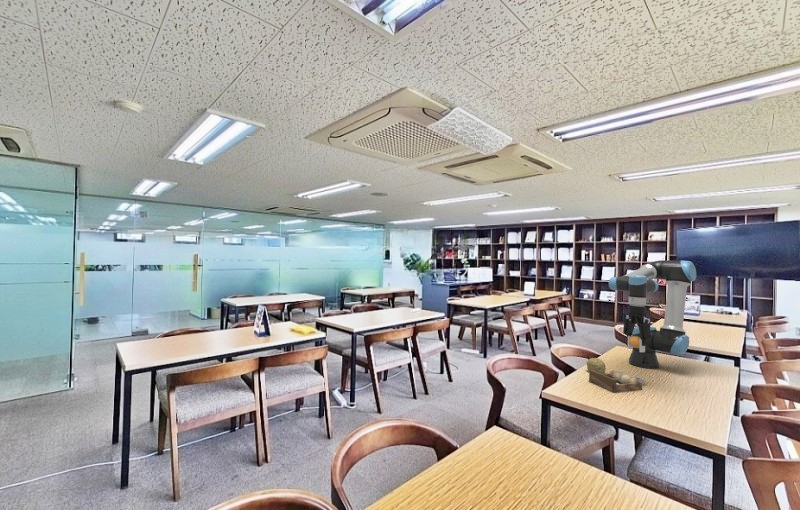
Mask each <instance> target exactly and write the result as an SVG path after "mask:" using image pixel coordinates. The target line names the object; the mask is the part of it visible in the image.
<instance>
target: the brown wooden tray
mask: <svg viewBox="0 0 800 510" xmlns="http://www.w3.org/2000/svg"><path fill="white" fill-rule="evenodd" d="M588 373H589V374H588V377H589V378H588V382H589V381H590V383H591V382H593V383H592V384H594V383H595V384H594V385H596V386H598V385H599V386H598V387H600V386H602V387H601V388H603V387H604V388H605V389H604V388H603V389H604V390H607V391H609V392H612V391H613V392H612V393H613V394H614V393H616V394H617V393H624V392H625V393H627V392H635V391H643V384H642V383H641V382H640V380H639V379H637V378H634V377H635V376H631V375H629V374H626V373H624V372H621V371H618V370H616V369H612V370H611V371H610V372H609V373H604V374H600V373H598V372H595V371H593V370H589V371H588ZM616 381H618V382H620V383H623V384H617V385H616ZM608 389H609V390H608ZM610 390H611V391H610Z"/></svg>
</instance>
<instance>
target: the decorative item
mask: <svg viewBox="0 0 800 510" xmlns="http://www.w3.org/2000/svg"><path fill="white" fill-rule="evenodd" d="M586 367H587V371H588V372H589V370H593V371H595V372H598V373H600V374H606V370H607V368H606V363H605V362H604V361H603V360H602V359H600V358H599V357H597V358H596V357H591V358H589V359H587V361H586Z"/></svg>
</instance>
